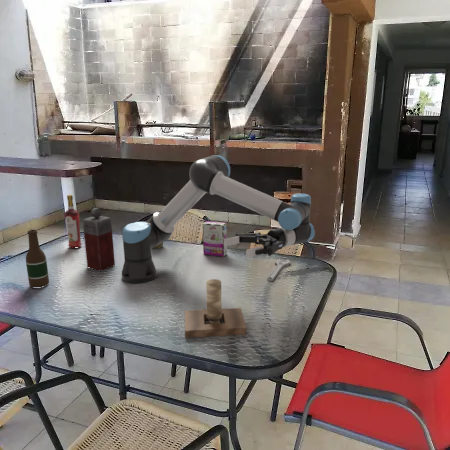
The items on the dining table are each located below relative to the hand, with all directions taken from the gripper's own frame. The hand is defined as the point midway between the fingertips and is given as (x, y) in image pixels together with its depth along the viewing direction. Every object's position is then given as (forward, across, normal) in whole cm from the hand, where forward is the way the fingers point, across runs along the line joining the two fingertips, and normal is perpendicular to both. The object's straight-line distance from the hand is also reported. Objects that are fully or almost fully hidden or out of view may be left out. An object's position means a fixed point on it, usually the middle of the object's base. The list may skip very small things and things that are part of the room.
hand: (235, 248), depth 152 cm
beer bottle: (+54, +65, -26) cm, 88 cm away
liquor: (+27, +106, -26) cm, 113 cm away
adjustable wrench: (-38, +20, -25) cm, 49 cm away
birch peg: (+12, -6, -24) cm, 28 cm away
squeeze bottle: (-8, +82, -25) cm, 86 cm away
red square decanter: (+26, +72, -26) cm, 81 cm away
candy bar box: (-27, +54, -25) cm, 65 cm away
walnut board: (+12, -6, -24) cm, 28 cm away
